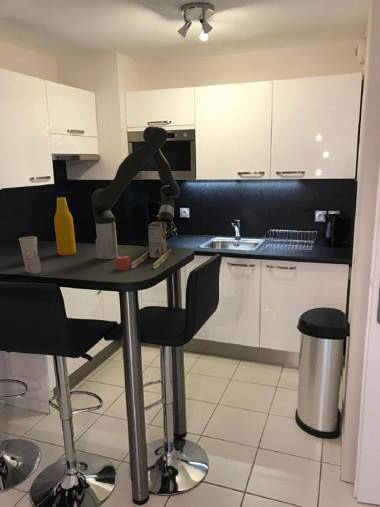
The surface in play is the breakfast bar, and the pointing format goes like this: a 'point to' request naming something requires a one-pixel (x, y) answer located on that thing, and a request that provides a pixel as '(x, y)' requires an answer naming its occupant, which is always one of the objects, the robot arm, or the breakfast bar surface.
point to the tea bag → (32, 262)
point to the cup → (28, 244)
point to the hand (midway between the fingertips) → (161, 242)
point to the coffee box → (157, 239)
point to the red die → (122, 262)
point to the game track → (148, 256)
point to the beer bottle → (64, 229)
